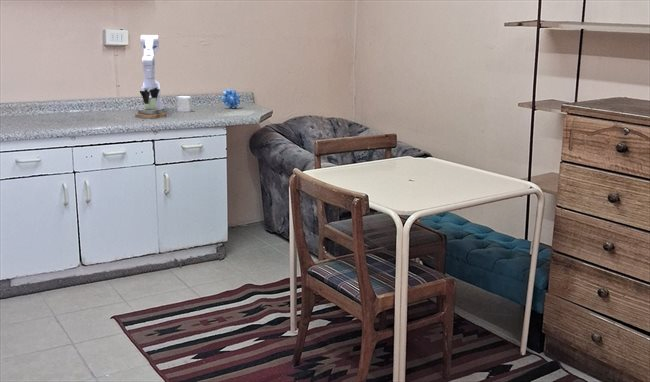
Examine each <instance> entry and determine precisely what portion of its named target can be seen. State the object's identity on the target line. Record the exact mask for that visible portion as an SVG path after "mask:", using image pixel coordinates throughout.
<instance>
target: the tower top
mask: <svg viewBox="0 0 650 382" xmlns="http://www.w3.org/2000/svg"><path fill="white" fill-rule="evenodd" d="M163 113H165V109H164V108H163V109H161V108H156V109H153V110H148V109H145V107H144V108H138V109H137V114H144V115H157V114H163Z"/></svg>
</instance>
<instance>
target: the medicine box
mask: <svg viewBox="0 0 650 382" xmlns="http://www.w3.org/2000/svg"><path fill="white" fill-rule="evenodd" d="M175 101H176V112H178V113H179V112H183V113H184V112H185V113H190V112H192V111H193V107H192V106H193V105H192V96H188V95H179V96H176V100H175Z"/></svg>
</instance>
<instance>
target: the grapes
mask: <svg viewBox="0 0 650 382" xmlns="http://www.w3.org/2000/svg"><path fill="white" fill-rule="evenodd" d="M240 98H241V97H240V95H239V94H238V93H237V91H236V90H235V89H231V88H227V89H226V90H224V91H222V96H221V100H222V101H223V105H224V106H227V107H228V108H229V109H233V108H235V109H236V108H238V105H239V104H240V103H241V100H240Z"/></svg>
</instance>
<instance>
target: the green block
mask: <svg viewBox="0 0 650 382" xmlns="http://www.w3.org/2000/svg"><path fill="white" fill-rule="evenodd" d="M143 103H144V102H143ZM144 108H145V109H148V110H153V109H156V98H149V103H148V104H145V103H144Z"/></svg>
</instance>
